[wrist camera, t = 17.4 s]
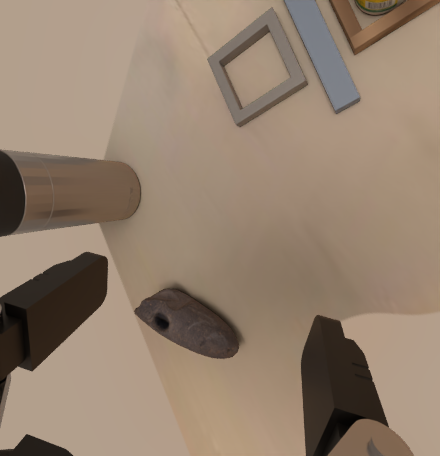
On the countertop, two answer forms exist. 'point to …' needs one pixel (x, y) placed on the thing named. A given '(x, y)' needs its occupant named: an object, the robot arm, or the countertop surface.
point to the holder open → (242, 43)
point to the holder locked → (396, 18)
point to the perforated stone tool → (188, 324)
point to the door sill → (323, 53)
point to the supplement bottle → (377, 6)
